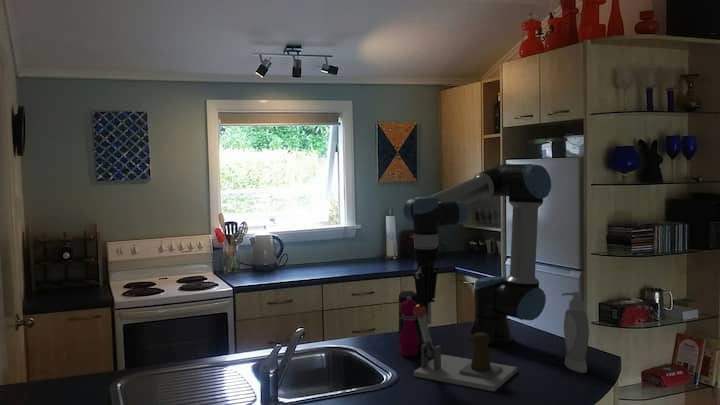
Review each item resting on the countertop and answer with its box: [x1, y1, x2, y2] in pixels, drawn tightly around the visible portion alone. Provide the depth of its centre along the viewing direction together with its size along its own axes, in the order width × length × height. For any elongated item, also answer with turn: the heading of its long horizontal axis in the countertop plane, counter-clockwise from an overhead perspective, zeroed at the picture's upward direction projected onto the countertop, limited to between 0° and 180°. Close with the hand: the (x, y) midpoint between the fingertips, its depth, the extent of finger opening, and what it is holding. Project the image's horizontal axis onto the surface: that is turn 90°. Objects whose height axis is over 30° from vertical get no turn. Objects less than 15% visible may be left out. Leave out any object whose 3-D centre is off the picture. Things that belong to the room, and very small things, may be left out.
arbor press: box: [413, 343, 518, 392], centre depth 201 cm, size 20×26×8 cm
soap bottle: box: [561, 291, 590, 374], centre depth 205 cm, size 13×8×24 cm, turn 13°
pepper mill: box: [398, 296, 421, 357], centre depth 223 cm, size 7×7×20 cm
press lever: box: [413, 304, 434, 360], centre depth 199 cm, size 4×4×20 cm
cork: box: [471, 333, 491, 372], centre depth 199 cm, size 6×6×11 cm
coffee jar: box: [398, 290, 422, 345], centre depth 236 cm, size 10×8×19 cm
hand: (426, 323), depth 200 cm, fingers closed
